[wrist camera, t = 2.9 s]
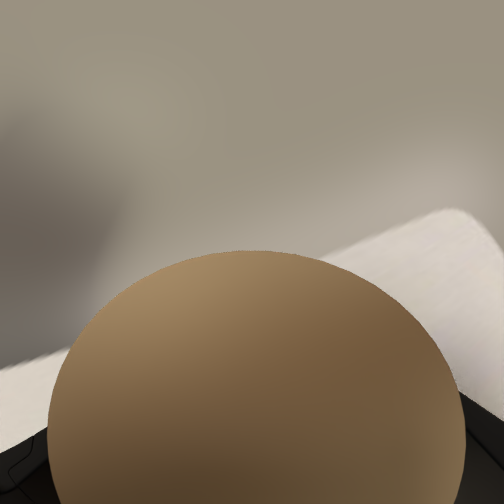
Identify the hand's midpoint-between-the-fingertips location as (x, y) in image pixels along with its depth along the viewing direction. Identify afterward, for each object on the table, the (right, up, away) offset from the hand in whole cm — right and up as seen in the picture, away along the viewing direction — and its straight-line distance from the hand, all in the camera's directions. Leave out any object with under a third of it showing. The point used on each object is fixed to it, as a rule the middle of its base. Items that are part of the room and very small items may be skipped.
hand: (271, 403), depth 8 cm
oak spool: (+1, -4, +6) cm, 7 cm away
